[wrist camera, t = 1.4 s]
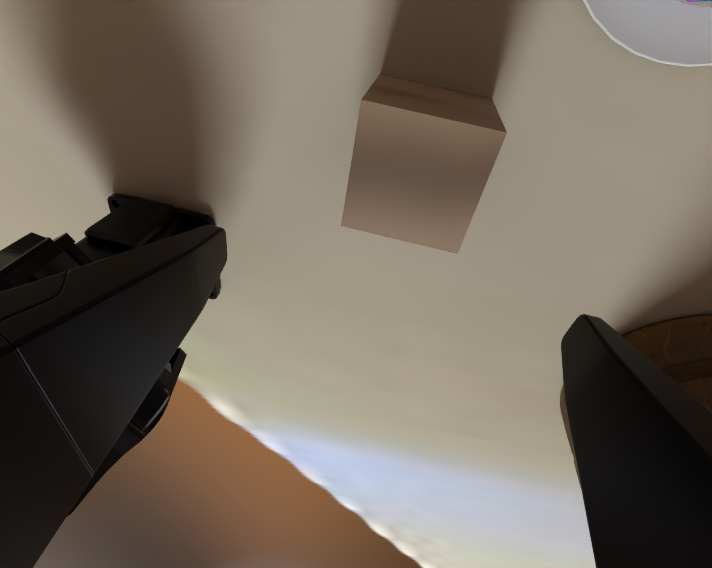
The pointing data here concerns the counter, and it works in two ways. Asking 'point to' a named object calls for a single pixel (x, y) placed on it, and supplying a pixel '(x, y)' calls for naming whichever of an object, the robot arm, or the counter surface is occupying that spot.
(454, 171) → the walnut block
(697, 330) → the wooden container
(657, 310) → the counter surface
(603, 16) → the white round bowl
